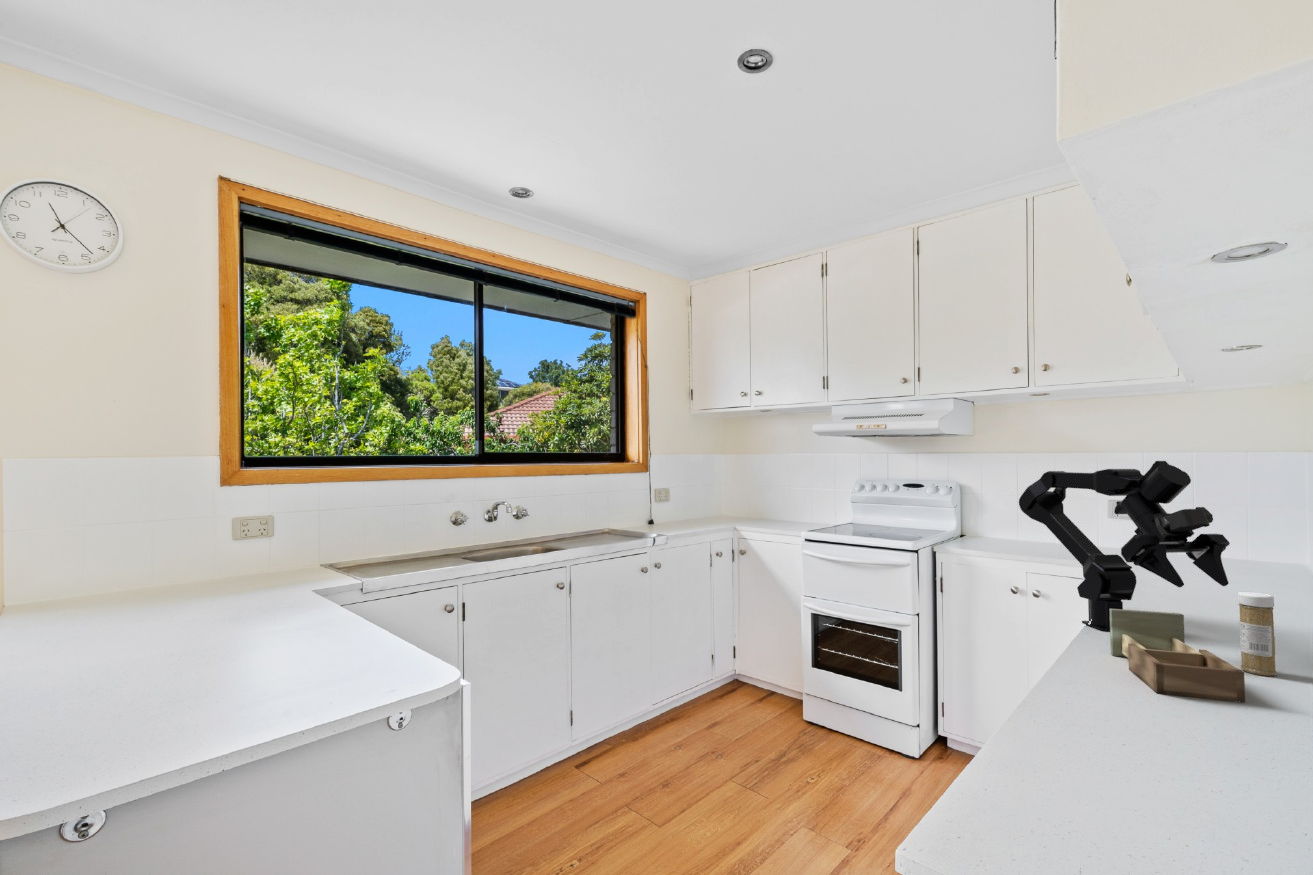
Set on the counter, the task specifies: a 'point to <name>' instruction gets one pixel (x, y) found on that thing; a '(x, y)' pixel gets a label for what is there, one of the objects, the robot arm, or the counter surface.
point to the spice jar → (1257, 633)
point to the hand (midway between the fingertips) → (1204, 585)
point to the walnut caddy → (1189, 676)
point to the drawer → (1152, 636)
